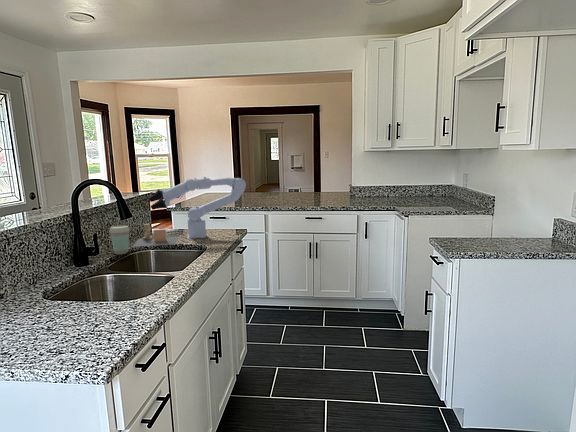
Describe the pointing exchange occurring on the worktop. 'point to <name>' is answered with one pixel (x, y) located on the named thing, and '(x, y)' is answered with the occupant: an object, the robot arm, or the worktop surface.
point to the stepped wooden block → (147, 232)
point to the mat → (151, 242)
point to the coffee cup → (120, 238)
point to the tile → (160, 235)
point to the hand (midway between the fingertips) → (150, 204)
